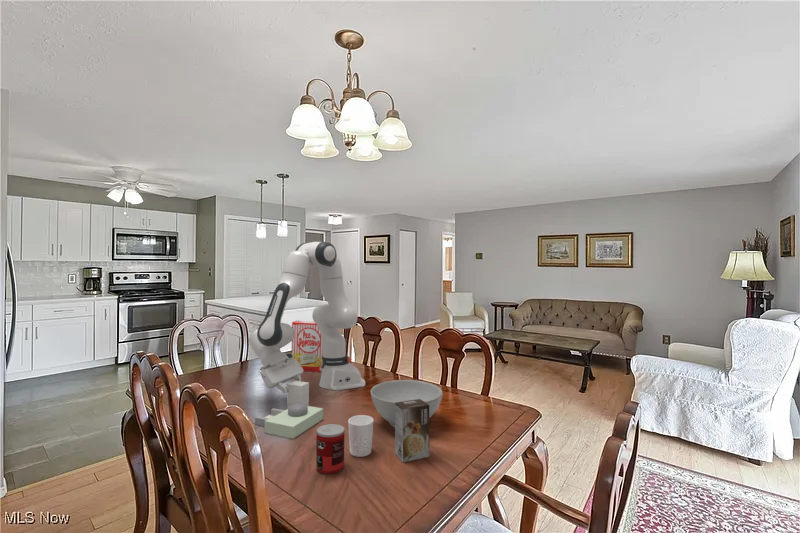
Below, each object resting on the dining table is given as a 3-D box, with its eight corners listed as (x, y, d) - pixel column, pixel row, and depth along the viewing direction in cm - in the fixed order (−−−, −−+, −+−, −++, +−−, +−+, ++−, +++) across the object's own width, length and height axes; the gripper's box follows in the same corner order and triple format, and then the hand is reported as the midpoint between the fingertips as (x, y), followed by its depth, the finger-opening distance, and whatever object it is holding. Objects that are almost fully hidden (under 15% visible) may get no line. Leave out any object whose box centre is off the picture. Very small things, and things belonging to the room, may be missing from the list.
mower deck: (244, 428, 135) (244, 410, 135) (278, 410, 152) (278, 394, 152) (292, 438, 128) (293, 419, 128) (323, 419, 144) (323, 401, 144)
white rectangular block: (287, 408, 155) (287, 383, 155) (294, 404, 160) (295, 380, 160) (301, 411, 152) (301, 386, 152) (308, 406, 157) (308, 382, 157)
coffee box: (420, 448, 122) (421, 398, 122) (430, 457, 116) (430, 404, 116) (394, 453, 118) (394, 401, 118) (402, 463, 113) (403, 409, 113)
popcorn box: (290, 370, 211) (291, 321, 211) (295, 367, 217) (296, 320, 217) (326, 372, 207) (326, 323, 207) (330, 369, 214) (330, 321, 214)
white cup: (369, 459, 115) (369, 426, 115) (344, 456, 116) (344, 423, 116) (376, 447, 122) (376, 416, 122) (352, 444, 124) (353, 414, 124)
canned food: (317, 460, 113) (318, 424, 113) (344, 460, 114) (345, 423, 114) (314, 474, 106) (314, 435, 106) (343, 473, 106) (343, 434, 106)
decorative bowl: (448, 414, 150) (449, 384, 150) (432, 444, 125) (432, 407, 125) (385, 405, 159) (386, 376, 159) (358, 431, 134) (358, 397, 134)
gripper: (262, 363, 150) (281, 391, 146) (294, 353, 169) (313, 377, 165) (253, 373, 151) (272, 401, 148) (286, 362, 170) (304, 386, 167)
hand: (294, 389), depth 156 cm, fingers open, 8 cm apart
